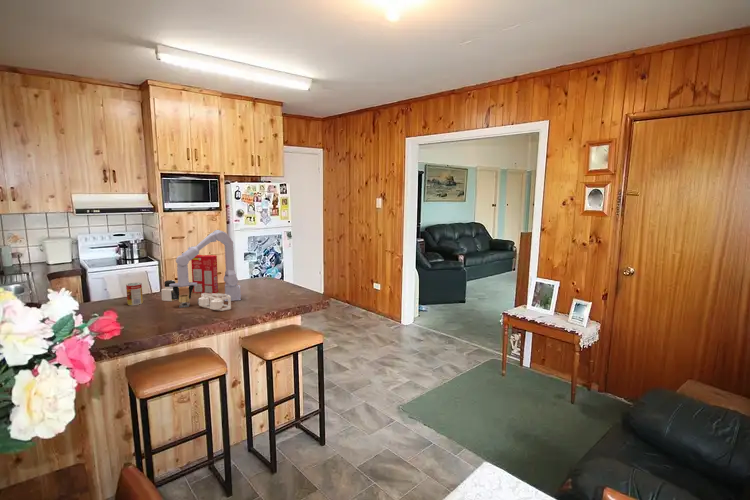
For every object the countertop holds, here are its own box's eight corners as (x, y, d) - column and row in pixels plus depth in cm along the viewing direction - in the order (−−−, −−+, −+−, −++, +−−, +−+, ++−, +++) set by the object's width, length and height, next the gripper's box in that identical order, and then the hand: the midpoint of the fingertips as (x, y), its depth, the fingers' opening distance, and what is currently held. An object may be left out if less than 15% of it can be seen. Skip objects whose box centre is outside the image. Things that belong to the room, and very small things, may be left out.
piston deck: (189, 304, 240) (189, 296, 239) (188, 306, 234) (188, 298, 233) (180, 304, 238) (180, 296, 237) (179, 307, 232) (178, 299, 232)
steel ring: (206, 301, 246) (206, 296, 246) (209, 303, 242) (209, 298, 242) (196, 303, 242) (196, 297, 242) (200, 305, 238) (200, 299, 238)
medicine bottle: (171, 301, 245) (170, 282, 244) (161, 300, 247) (160, 281, 245) (179, 298, 252) (178, 279, 251) (169, 297, 254) (168, 279, 252)
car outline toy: (195, 307, 234) (194, 295, 233) (211, 303, 243) (210, 291, 242) (218, 312, 224) (217, 300, 223) (234, 308, 233) (233, 295, 232)
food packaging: (218, 292, 269) (216, 255, 266) (214, 294, 264) (212, 256, 260) (197, 291, 271) (195, 254, 267) (193, 293, 265) (191, 255, 262)
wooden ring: (189, 299, 239) (189, 294, 239) (189, 301, 234) (188, 296, 234) (179, 300, 237) (179, 295, 237) (178, 302, 232) (178, 297, 232)
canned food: (139, 301, 245) (137, 281, 243) (145, 303, 240) (144, 283, 239) (125, 303, 239) (123, 284, 237) (131, 306, 234) (129, 286, 232)
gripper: (197, 274, 240) (198, 296, 242) (170, 275, 235) (171, 298, 237) (196, 276, 233) (197, 299, 235) (168, 277, 228) (169, 301, 230)
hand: (184, 298), depth 235 cm, fingers closed on wooden ring, 6 cm apart
